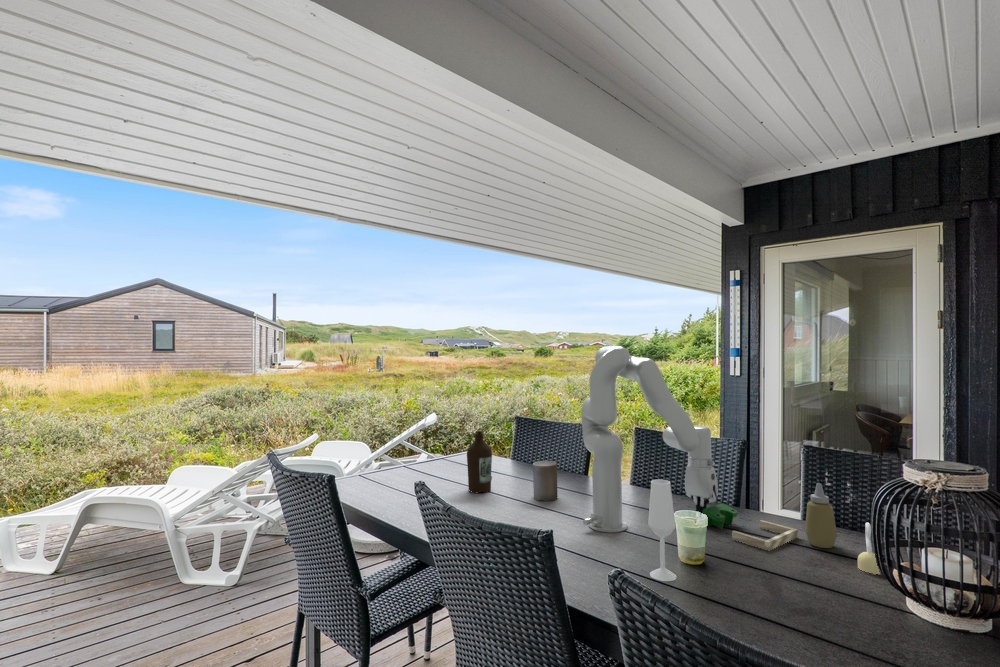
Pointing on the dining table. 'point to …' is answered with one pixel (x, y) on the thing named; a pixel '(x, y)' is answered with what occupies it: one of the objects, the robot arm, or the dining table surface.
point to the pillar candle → (545, 480)
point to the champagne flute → (661, 522)
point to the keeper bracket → (784, 537)
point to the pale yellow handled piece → (868, 555)
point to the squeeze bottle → (820, 520)
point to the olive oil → (479, 464)
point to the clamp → (720, 515)
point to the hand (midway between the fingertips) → (701, 516)
